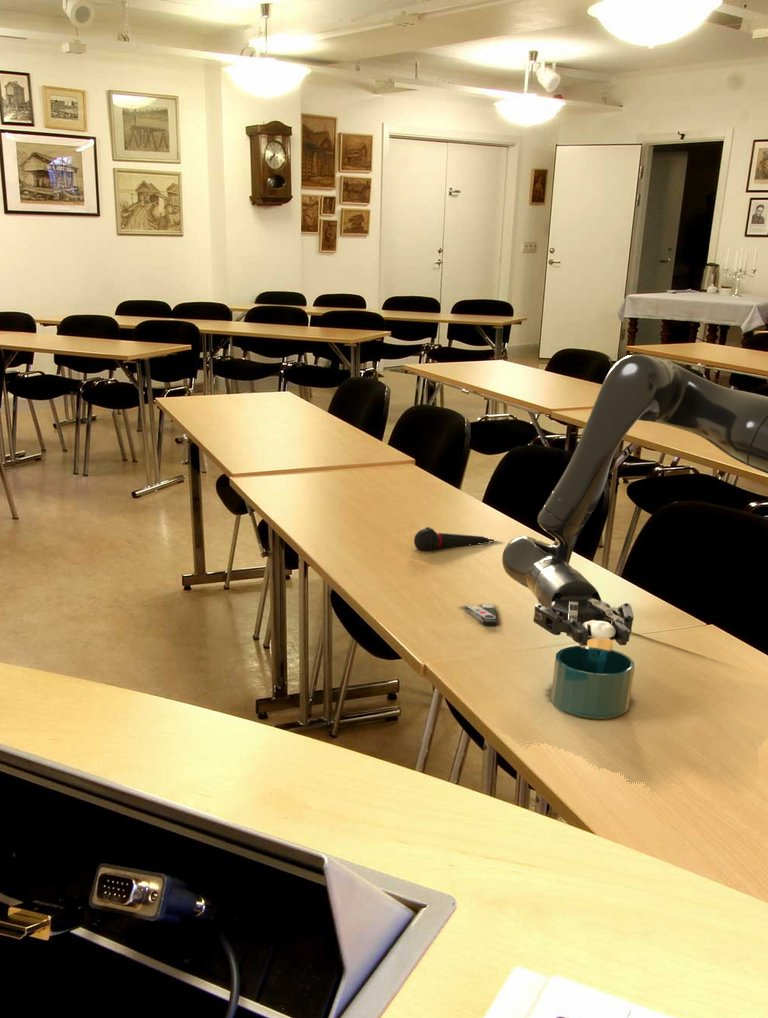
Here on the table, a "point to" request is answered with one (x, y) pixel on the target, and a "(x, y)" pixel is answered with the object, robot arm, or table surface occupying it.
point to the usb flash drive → (483, 613)
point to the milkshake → (597, 647)
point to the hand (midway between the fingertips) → (605, 638)
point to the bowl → (592, 685)
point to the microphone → (444, 540)
